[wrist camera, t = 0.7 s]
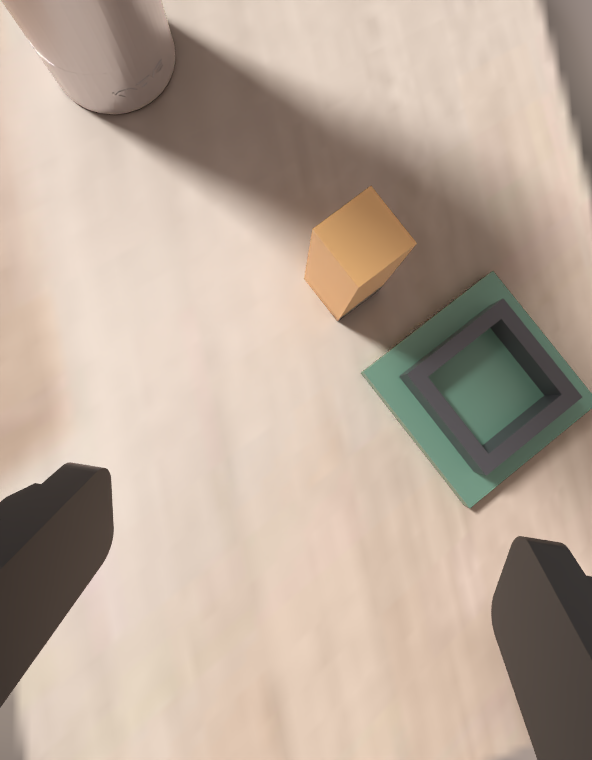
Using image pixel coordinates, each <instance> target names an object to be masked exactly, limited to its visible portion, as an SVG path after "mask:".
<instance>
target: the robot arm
mask: <svg viewBox="0 0 592 760" xmlns="http://www.w3.org/2000/svg"><path fill="white" fill-rule="evenodd" d="M1 1H2V2H3V4H4V5H5V7H6V8H7V10H8V11H9V13H10V14H11V15H12V17H13V18H14V20H15V21H16V23H17V24H18V26H19V27H20V29H21V30H22V31H23V33H24V34H25V36H26V37H27V39H28V40H29V42H30V43H31V45H32V46H33V48H34V49H35V51H36V52H37V54H38V55H39V57H40V58H41V60H42V61H43V62H44V64H45V65H46V67H47V68H48V70H49V71H50V73H51V74H52V75H53V77H54V78H55V80H56V81H57V83H58V84H59V86H60V87H61V88H62V90H63V91H64V92H65V93H66V95H67V96H69V97H70V98H71V99H72V100H73V101H74V102H76V103H77V104H79V105H81V106H82V107H84V108H86V109H88V110H92V111H95V112H98V113H104V114H122V113H128V112H131V111H134V110H138V109H140V108H142V107H144V106H145V105H147V104H149V103H151V102H152V101H153V100H154V99H155V98H156V97H158V96H159V95H160V94H161V92H162V91H163V90H164V88H165V87H166V86H167V84H168V82H169V80H170V78H171V76H172V74H173V70H174V65H175V46H174V42H173V38H172V35H171V31H170V28H169V24H168V21H167V18H166V14H165V11H164V7H163V4H162V1H161V0H1ZM113 532H114V526H113V507H112V488H111V475H110V472H109V471H108V469H106V468H101V467H95V466H89V465H83V464H76V463H66V464H64V465H63V466H62V467H60V468H59V469H58V470H57V471H56V472H55V473H54V474H52V475H51V476H50V477H49V478H48V479H47V480H46V481H44V482H43V483H42V484H37V483H35V484H33V485H31V486H28V487H26V488H24V489H22V490H20V491H18V492H16V493H14V494H12V495H10V496H8V497H6V498H5V499H3V500H2V501H1V502H0V707H1V706H2V705H3V703H4V702H5V700H6V699H7V698H8V696H9V695H10V693H11V692H12V690H13V689H14V688H15V686H16V685H17V683H18V682H19V681H20V679H21V678H22V676H23V675H24V674H25V672H26V671H27V669H28V668H29V667H30V665H31V664H32V662H33V661H34V660H35V658H36V657H37V655H38V654H39V652H40V651H41V650H42V648H43V647H44V645H45V644H46V643H47V641H48V640H49V638H50V637H51V636H52V634H53V633H54V631H55V630H56V629H57V627H58V626H59V624H60V623H61V622H62V620H63V619H64V617H65V616H66V614H67V613H68V612H69V610H70V609H71V607H72V606H73V605H74V603H75V602H76V600H77V599H78V598H79V596H80V595H81V593H82V592H83V591H84V589H85V588H86V586H87V585H88V584H89V582H90V581H91V579H92V578H93V576H94V575H95V574H96V572H97V571H98V569H99V568H100V567H101V565H102V564H103V562H104V561H105V559H106V557H107V555H108V553H109V550H110V547H111V544H112V540H113ZM491 616H492V625H493V630H494V634H495V637H496V640H497V643H498V646H499V648H500V651H501V654H502V657H503V660H504V663H505V666H506V669H507V672H508V675H509V678H510V681H511V684H512V687H513V689H514V692H515V695H516V698H517V701H518V704H519V707H520V710H521V713H522V716H523V719H524V722H525V725H526V728H527V730H528V733H529V736H530V739H531V742H532V745H533V748H534V751H535V754H536V757H537V760H592V577H591V576H586V575H585V573H584V572H583V570H582V569H581V567H580V566H579V564H578V563H577V561H576V559H575V558H574V556H573V555H572V553H571V552H570V550H569V549H568V548H567V546H566V545H564V544H563V543H559V542H553V541H547V540H541V539H535V538H529V537H522V536H519V537H517V538H515V540H514V541H513V543H512V545H511V548H510V550H509V553H508V556H507V559H506V562H505V565H504V567H503V570H502V573H501V576H500V579H499V581H498V584H497V587H496V590H495V593H494V596H493V600H492V609H491Z"/></svg>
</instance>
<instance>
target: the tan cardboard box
mask: <svg viewBox="0 0 592 760" xmlns="http://www.w3.org/2000/svg"><path fill="white" fill-rule="evenodd" d="M416 244H417V243H416V242H415V240H414V239H413V238H412V237H411V235H410V234H409V233H408V232H407V230H406V229H405V228H404V227H403V225H402V224H401V223H400V222H399V220H398V219H397V218H396V217H395V215H394V214H393V213H392V211H391V210H390V209H389V208H388V206H387V205H386V204H385V203H384V201H383V200H382V199H381V198H380V196H379V195H378V194H377V193H376V191H375V190H374V189H373V188H372V186H370V187H368V188H367V189H366V190H364V191H363V192H362V193H360V194H359V195H358V196H356V197H355V198H354V199H352V200H351V201H350V202H348V203H347V204H345V205H344V206H343V207H341V208H340V209H339V210H337V211H336V212H335V213H333V214H332V215H331V216H329V217H328V218H327V219H325V220H324V221H323V222H321V223H320V224H319V225H317V226H316V227H315V228H313V229H312V235H311V241H310V247H309V253H308V259H307V265H306V271H305V277H304V279H305V281H306V282H307V283H308V284H309V286H310V287H311V288H312V290H313V291H314V292H315V293H316V295H317V296H318V297H319V298H320V300H321V301H322V302H323V304H324V305H325V306H326V307H327V309H328V310H329V311H330V313H331V314H332V315H333V316H334V318H335V319H336V320H337V321H339V320H340V319H342V318H343V317H344V316H346V315H347V314H348V313H349V312H351V311H352V310H353V309H355V308H356V307H357V306H359V305H360V304H361V303H363V302H364V301H365V300H366V299H368V298H369V297H370V296H372V295H373V294H374V293H376V292H377V291H378V290H380V289H381V287H382V286H383V285H384V284H385V282H386V281H387V280H388V279H389V277H390V276H391V275H392V274H393V272H394V271H395V270H396V269H397V268H398V266H399V265H400V264H401V263H402V261H403V260H404V259H405V258H406V256H407V255H408V254H409V253H410V251H411V250H412V249H413V248H414V246H415V245H416Z"/></svg>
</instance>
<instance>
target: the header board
mask: <svg viewBox="0 0 592 760" xmlns="http://www.w3.org/2000/svg"><path fill="white" fill-rule="evenodd" d="M361 374H362V375H363V377H364V378H365V379H366V380H367V382H368V383H369V384H370V386H371V387H372V388H373V389H374V391H375V392H376V393H377V395H378V396H379V397H380V398H381V400H382V401H383V402H384V404H385V405H386V406H387V407H388V409H389V410H390V411H391V412H392V414H393V415H394V416H395V418H396V419H397V420H398V421H399V423H400V424H401V425H402V427H403V428H404V429H405V430H406V432H407V433H408V434H409V436H410V437H411V438H412V439H413V441H414V442H415V443H416V445H417V446H418V447H419V448H420V450H421V451H422V452H423V453H424V455H425V456H426V457H427V459H428V460H429V461H430V462H431V464H432V465H433V466H434V468H435V469H436V470H437V471H438V473H439V474H440V475H441V477H442V478H443V479H444V480H445V482H446V483H447V484H448V485H449V487H450V488H451V489H452V491H453V492H454V493H455V494H456V496H457V497H458V498H459V500H460V501H461V502H462V503H463V505H464V506H466V507H468V508H471V507H472V506H473V505H474V504H476V503H477V502H478V501H479V500H481V499H482V498H483V497H484V496H485V495H487V494H488V493H489V492H490V491H492V490H493V489H494V488H495V487H496V486H498V485H499V484H500V483H501V482H502V481H504V480H505V479H506V478H507V477H509V476H510V475H511V474H512V473H513V472H515V471H516V470H517V469H518V468H520V467H521V466H522V465H523V464H524V463H526V462H527V461H528V460H529V459H531V458H532V457H533V456H534V455H535V454H537V453H538V452H539V451H540V450H542V449H543V448H544V447H545V446H546V445H548V444H549V443H550V442H551V441H553V440H554V439H555V438H556V437H557V436H559V435H560V434H561V433H562V432H564V431H565V430H566V429H567V428H568V427H570V426H571V425H572V424H573V423H574V422H576V421H577V420H578V419H579V418H581V417H582V416H583V415H584V414H585V413H587V412H588V411H589V410H590V409H592V393H591V392H590V391H589V390H588V388H587V387H586V386H585V385H584V384H583V382H582V381H581V380H580V379H579V377H578V376H577V375H576V374H575V372H574V371H573V370H572V369H571V367H570V366H569V365H568V364H567V362H566V361H565V360H564V359H563V357H562V356H561V355H560V354H559V352H558V351H557V350H556V349H555V347H554V346H553V345H552V344H551V342H550V341H549V340H548V339H547V337H546V336H545V335H544V334H543V332H542V331H541V330H540V329H539V327H538V326H537V325H536V324H535V322H534V321H533V320H532V319H531V318H530V316H529V315H528V314H527V313H526V311H525V310H524V309H523V308H522V306H521V305H520V304H519V303H518V301H517V300H516V299H515V298H514V296H513V295H512V294H511V293H510V291H509V290H508V289H507V288H506V286H505V285H504V284H503V283H502V281H501V280H500V279H499V278H498V276H497V275H496V274H495V273H494V271H492V272H490V273H489V274H487V275H486V276H485V277H483V278H482V279H481V280H480V281H478V282H477V283H476V284H474V285H473V286H472V287H471V288H469V289H468V290H467V291H465V292H464V293H463V294H462V295H460V296H459V297H458V298H456V299H455V300H454V301H453V302H451V303H450V304H449V305H447V306H446V307H445V308H444V309H442V310H441V311H440V312H438V313H437V314H436V315H435V316H433V317H432V318H431V319H429V320H428V321H427V322H426V323H424V324H423V325H422V326H420V327H419V328H418V329H417V330H415V331H414V332H413V333H411V334H410V335H409V336H408V337H406V338H405V339H404V340H402V341H401V342H400V343H399V344H397V345H396V346H395V347H393V348H392V349H391V350H390V351H388V352H387V353H386V354H384V355H383V356H382V357H381V358H379V359H378V360H377V361H375V362H374V363H373V364H372V365H370V366H369V367H368V368H366V369H365V370H364V371H363V372H361Z"/></svg>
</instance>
